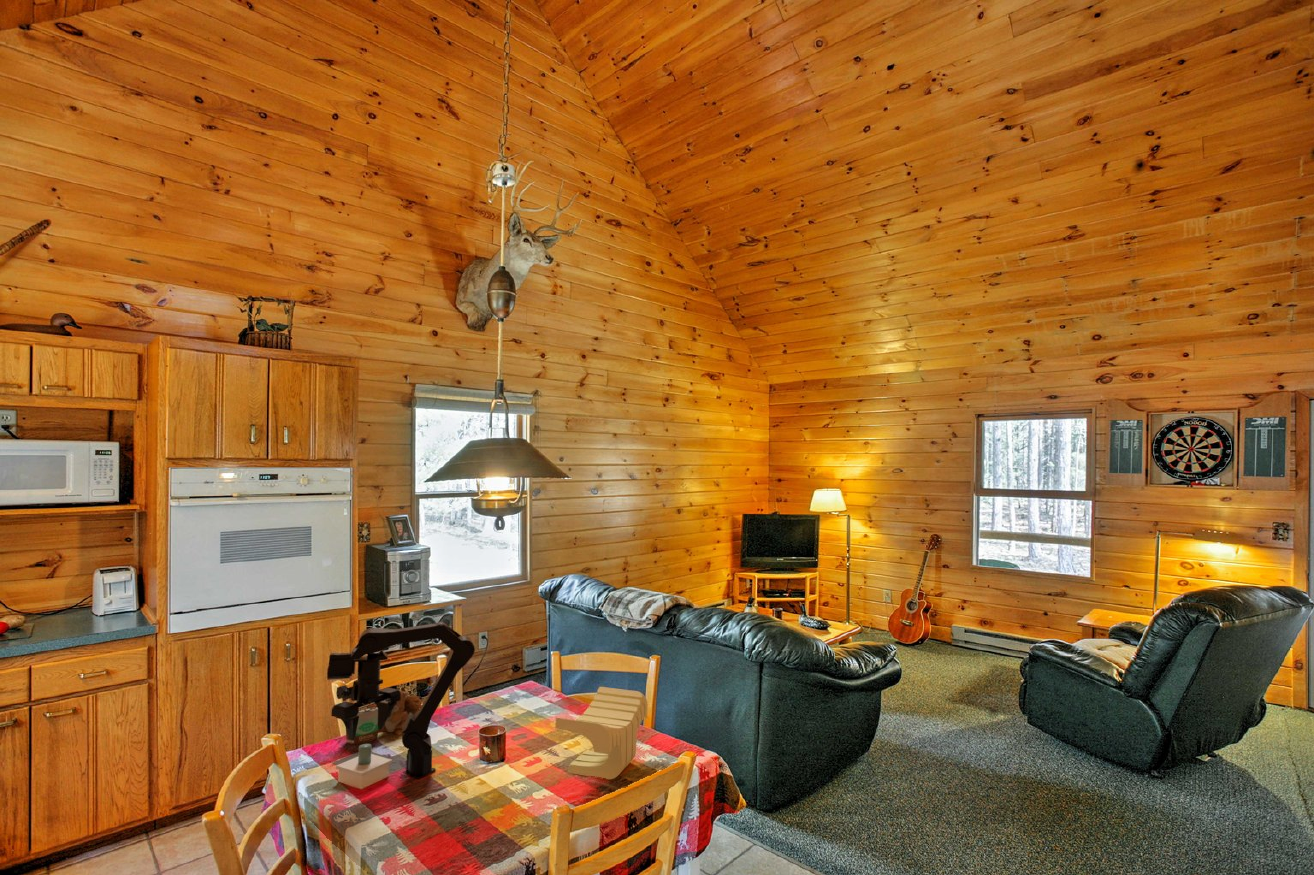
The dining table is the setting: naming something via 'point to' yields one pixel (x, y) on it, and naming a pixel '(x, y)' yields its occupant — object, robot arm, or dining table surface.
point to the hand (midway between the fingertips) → (366, 734)
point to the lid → (364, 762)
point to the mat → (354, 757)
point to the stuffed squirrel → (401, 713)
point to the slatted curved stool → (608, 732)
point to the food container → (365, 726)
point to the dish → (363, 777)
